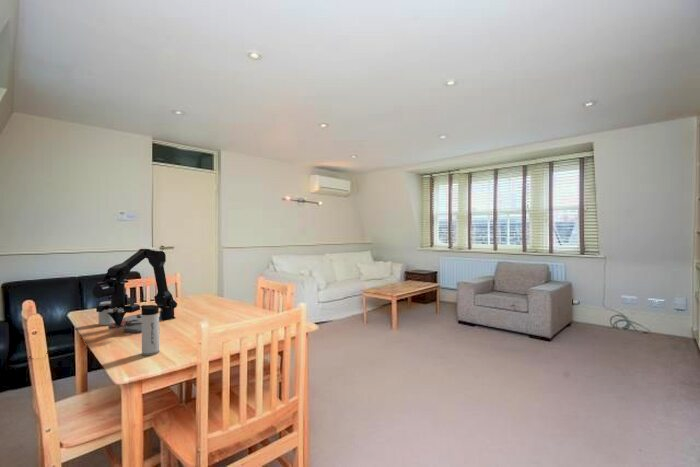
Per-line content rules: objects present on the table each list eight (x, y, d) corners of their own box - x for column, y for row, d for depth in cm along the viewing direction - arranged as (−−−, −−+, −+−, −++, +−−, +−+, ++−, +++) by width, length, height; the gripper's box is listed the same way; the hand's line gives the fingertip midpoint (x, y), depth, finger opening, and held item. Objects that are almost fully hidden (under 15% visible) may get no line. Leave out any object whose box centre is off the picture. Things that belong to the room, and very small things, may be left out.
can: (106, 326, 179) (106, 303, 178) (95, 325, 180) (94, 303, 180) (119, 322, 186) (118, 300, 186) (107, 321, 188) (107, 300, 187)
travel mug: (145, 350, 144) (145, 303, 144) (162, 350, 145) (161, 303, 144) (137, 356, 138) (137, 307, 138) (154, 355, 139) (154, 307, 138)
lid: (144, 314, 184) (144, 310, 184) (162, 317, 177) (162, 313, 177) (103, 324, 165) (103, 319, 165) (121, 328, 159) (121, 323, 159)
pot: (156, 322, 186) (156, 313, 186) (165, 327, 177) (165, 318, 176) (105, 332, 169) (105, 322, 169) (112, 338, 160) (112, 328, 160)
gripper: (147, 290, 169) (149, 321, 169) (114, 289, 171) (115, 320, 172) (130, 295, 158) (131, 328, 158) (94, 294, 160) (96, 327, 161)
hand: (119, 325), depth 163 cm, fingers closed
